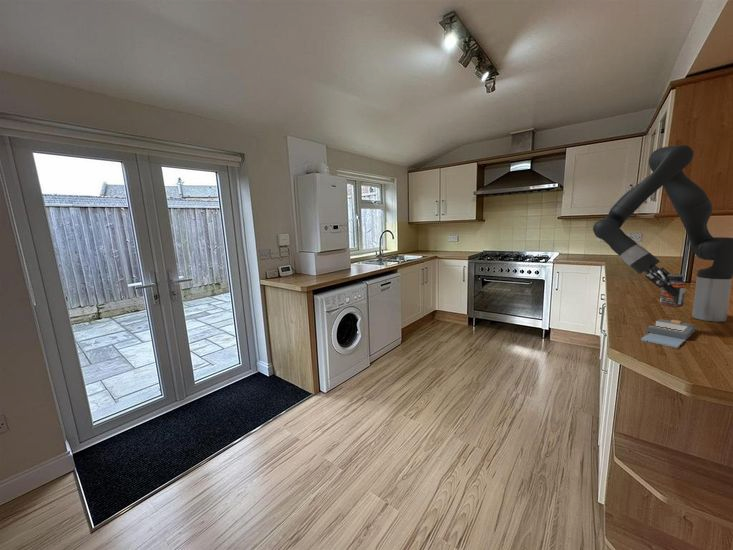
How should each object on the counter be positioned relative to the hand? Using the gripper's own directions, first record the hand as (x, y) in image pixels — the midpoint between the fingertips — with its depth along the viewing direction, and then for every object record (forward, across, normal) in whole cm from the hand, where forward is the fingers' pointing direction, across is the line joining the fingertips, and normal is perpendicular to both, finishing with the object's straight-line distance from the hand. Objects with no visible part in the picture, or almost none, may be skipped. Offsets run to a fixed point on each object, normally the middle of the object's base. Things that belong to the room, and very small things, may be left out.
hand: (679, 293), depth 105 cm
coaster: (+10, -13, +11) cm, 20 cm away
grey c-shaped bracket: (+10, +3, +11) cm, 15 cm away
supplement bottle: (+2, 0, +5) cm, 5 cm away
